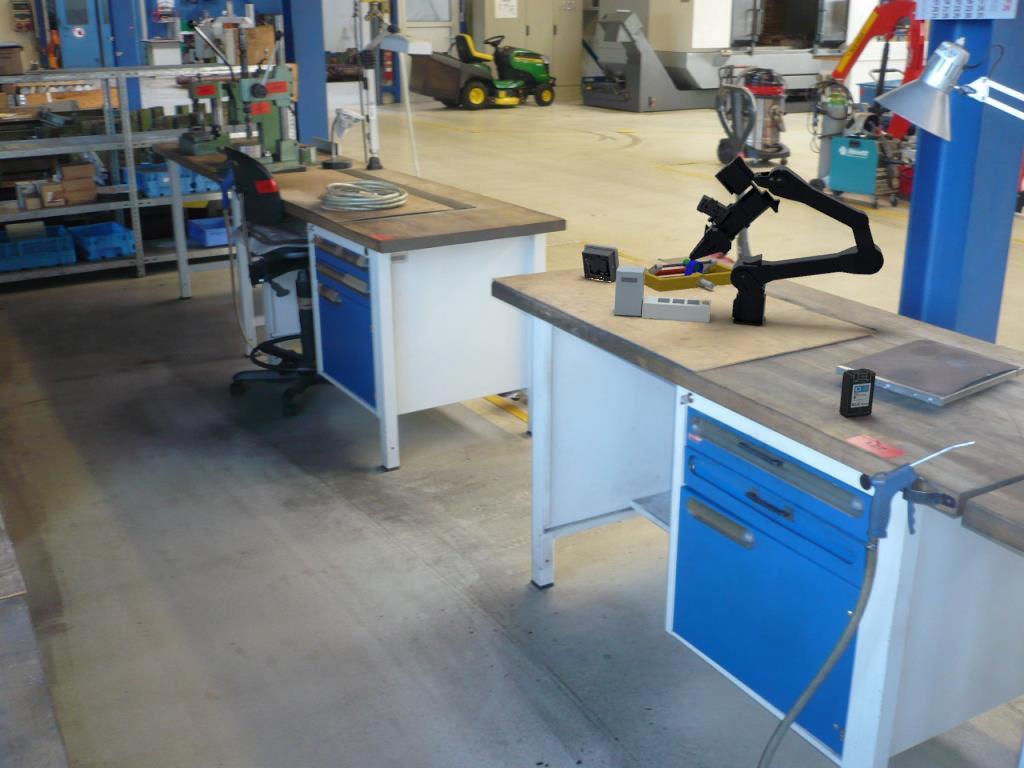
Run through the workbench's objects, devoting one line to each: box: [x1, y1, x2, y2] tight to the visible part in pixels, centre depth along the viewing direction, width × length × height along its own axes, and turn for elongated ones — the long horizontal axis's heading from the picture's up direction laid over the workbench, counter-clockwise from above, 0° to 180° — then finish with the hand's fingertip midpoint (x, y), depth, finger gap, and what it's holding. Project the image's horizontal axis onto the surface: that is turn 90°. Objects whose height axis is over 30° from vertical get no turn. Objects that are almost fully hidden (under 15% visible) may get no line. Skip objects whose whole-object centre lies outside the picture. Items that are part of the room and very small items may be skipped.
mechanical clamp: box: [644, 258, 733, 293], centre depth 271 cm, size 18×6×30 cm
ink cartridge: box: [839, 368, 877, 419], centre depth 183 cm, size 5×2×8 cm, turn 105°
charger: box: [613, 265, 646, 317], centre depth 242 cm, size 8×6×10 cm
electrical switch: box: [581, 242, 620, 283], centre depth 272 cm, size 9×5×9 cm, turn 57°
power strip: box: [641, 295, 712, 323], centre depth 246 cm, size 15×17×4 cm
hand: (690, 258), depth 237 cm, fingers open, 2 cm apart
